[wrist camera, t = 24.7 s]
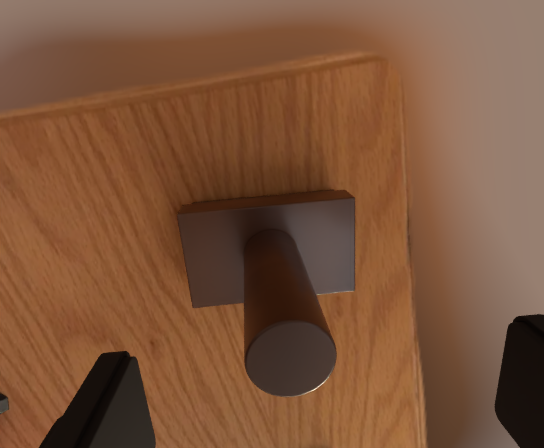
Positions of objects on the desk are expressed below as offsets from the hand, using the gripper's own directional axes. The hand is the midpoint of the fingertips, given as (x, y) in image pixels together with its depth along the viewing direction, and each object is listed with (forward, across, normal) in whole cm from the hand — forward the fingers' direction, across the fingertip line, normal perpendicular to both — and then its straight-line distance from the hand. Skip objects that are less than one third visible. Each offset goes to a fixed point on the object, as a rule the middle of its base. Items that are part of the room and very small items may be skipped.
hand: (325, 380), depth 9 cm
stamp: (+10, +1, 0) cm, 10 cm away
